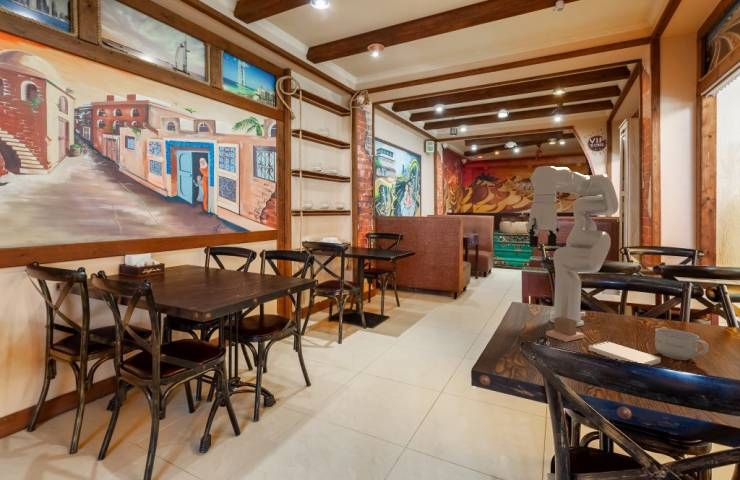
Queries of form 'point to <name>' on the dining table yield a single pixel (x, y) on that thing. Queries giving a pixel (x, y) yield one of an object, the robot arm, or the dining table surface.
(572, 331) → the stub
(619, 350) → the ticket pad
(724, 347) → the dining table surface
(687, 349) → the teacup
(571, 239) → the robot arm
